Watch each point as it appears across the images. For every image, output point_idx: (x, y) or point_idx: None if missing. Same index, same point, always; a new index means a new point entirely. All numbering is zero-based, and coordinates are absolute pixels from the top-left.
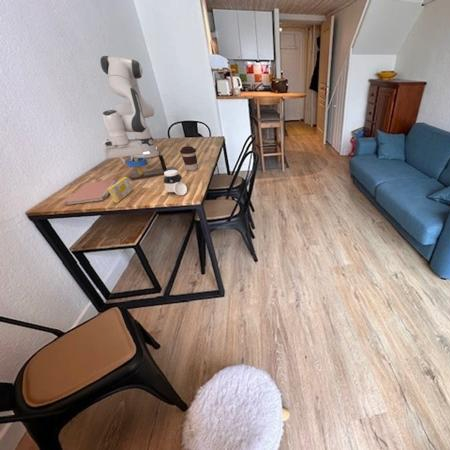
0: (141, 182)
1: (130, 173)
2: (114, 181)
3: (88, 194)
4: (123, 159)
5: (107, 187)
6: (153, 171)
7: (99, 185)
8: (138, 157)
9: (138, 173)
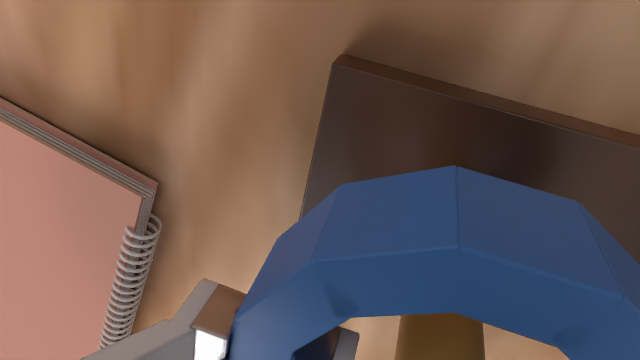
0: (355, 356)
1: (332, 65)
2: (133, 233)
3: (1, 337)
4: (162, 349)
5: (93, 323)
6: (634, 254)
7: (24, 233)
8: (621, 305)
9: (423, 165)
